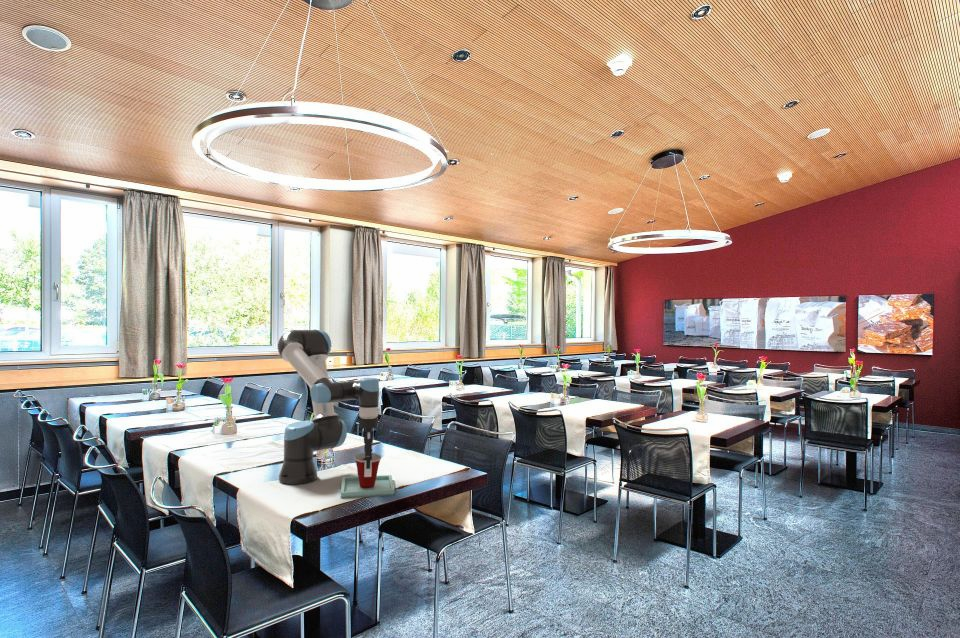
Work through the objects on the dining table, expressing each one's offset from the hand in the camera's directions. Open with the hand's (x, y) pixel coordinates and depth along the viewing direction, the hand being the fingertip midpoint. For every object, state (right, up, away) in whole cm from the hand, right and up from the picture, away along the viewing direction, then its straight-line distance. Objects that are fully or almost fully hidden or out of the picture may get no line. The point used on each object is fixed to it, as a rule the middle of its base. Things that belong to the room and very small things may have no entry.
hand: (367, 472), depth 210 cm
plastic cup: (0, -6, 0) cm, 6 cm away
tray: (0, -6, 0) cm, 6 cm away
